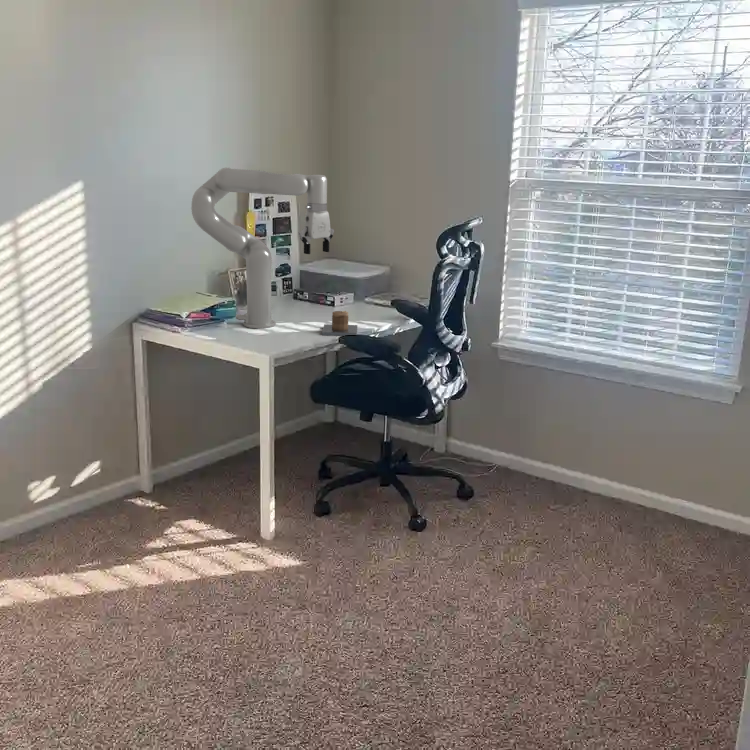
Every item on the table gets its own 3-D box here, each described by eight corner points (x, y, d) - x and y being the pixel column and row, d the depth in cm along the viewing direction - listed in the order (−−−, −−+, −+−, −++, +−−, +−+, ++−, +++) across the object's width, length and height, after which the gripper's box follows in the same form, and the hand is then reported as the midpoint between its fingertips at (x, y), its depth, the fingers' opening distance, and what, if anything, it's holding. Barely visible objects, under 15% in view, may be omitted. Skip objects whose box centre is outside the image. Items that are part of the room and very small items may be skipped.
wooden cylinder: (339, 331, 312) (339, 314, 310) (329, 328, 316) (329, 311, 314) (351, 328, 316) (351, 312, 314) (340, 326, 320) (340, 309, 319)
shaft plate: (322, 335, 310) (322, 320, 309) (324, 327, 323) (324, 312, 321) (356, 336, 310) (356, 321, 309) (357, 328, 323) (357, 313, 321)
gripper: (305, 209, 307) (305, 255, 312) (340, 207, 318) (339, 252, 323) (293, 208, 312) (293, 253, 317) (327, 206, 324) (326, 249, 328)
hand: (316, 252), depth 320 cm, fingers open, 9 cm apart
